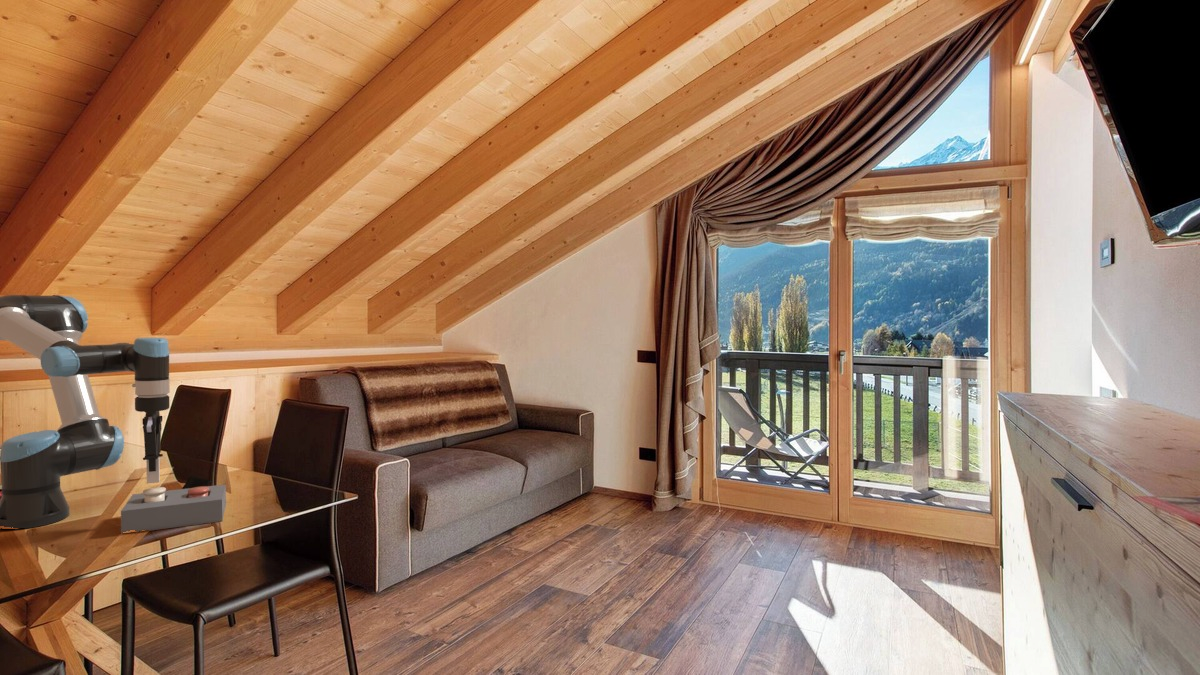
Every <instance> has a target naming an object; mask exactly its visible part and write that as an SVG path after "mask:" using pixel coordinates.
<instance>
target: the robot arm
mask: <svg viewBox="0 0 1200 675" xmlns="http://www.w3.org/2000/svg"><path fill="white" fill-rule="evenodd" d="M88 320H89V316H88V313H87V310H86V308H85V306H84V305H83V304H82V302H81V301H80V300H78V299H77V298H75V297H73V296H65V295H58V294H57V295H56V294H53V295H35V294H34V295H33V294H32V295H30V294H29V295H27V294H21V295H20V294H7V295H2V296H0V341H8V342H10V343H11V344H12V345H15V346H16V347H18V348H19V349H21V350H23V351H25V352H26V353H28V354H30V355H32V357H35V358H37V359H38V360H40V366H41V369H42V370H43V373H44V374H45V375H46V376H48V379H49V382H50V383H49V384H50V386H51V390H52V393H53V396H54V399H55V400H54V401H55V404H56V407H57V411H58V415H59V418H60V422H61V425H60V426H59V427H58V428H57V429H56V430H54V429H52V430H51V429H47V430H46V429H45V430H40V431H32V432H28V433H27V432H26V433H22V434H19V435H16V436H12V437H9V438H8V439H6V440H4V442H3V443H2V444H1V445H0V477H1V479H0V480H1V485H0V486H1V497H0V526H4V527H11V528H12V527H13V528H25V529H30V528H37V527H42V526H46V525H50V524H53V523H56V522H60V521H62V520H64V519H66V518H68V517H69V516H70V505H69V504H68V500H67V499H66V497H65V495H64V493H63V491H62V488H61V477H63V476H64V477H65V476H70V475H74V474H79V473H83V472H84V473H85V472H90V471H94V470H96V471H97V470H100V469H104V468H107V467H111V466H113V465H115V464H116V463H117V462H118V461H119V460H120V459H121V457H122V455H123V451H124V446H125V445H124V444H125V441H124V440H125V438H124V434H123V432H122V430H121V429H120V428H119V427H118V426H116V425H110V423H109V419H108V418H107V417H104V416H102V415H100V412H99V407H98V405H97V402H96V399H95V395H94V391H93V388H92V385H91V381H90V379H89V375H95V374H97V375H98V374H110V373H123V372H133V373H134V383H132V384H131V387H132V388H135V389H134V394H135V398H134V410H135V412H140V413H143V412H144V413H145V415H144V417H143V418H142V431H143V440H144V457H142V461H146V484H156V483H160V481H161V475H160V474H161V472H160V471H161V465H160V464H161V463H160V462H161V461H160V460H161V459H160V457H161V458H162V457H163V456H164V455H163V454H164V453H161V451H162V450H161V448H162V446H161V442H162V441H161V439H162V422H163V415H161V414H160V412H163V411H167V410H168V409H170V396H169V394H170V389H171V388H170V354H171V352H170V350H169V341H168V339H166V338H165V337H139V338H135V340H134V342H133V343H129V342H123V343H122V342H117V343H116V342H115V343H112V344H110V343H109V344H92V345H91V344H89V345H87V344H86V345H80V343H79V341H80V340H81V338H83V336H84V332H85V331H86V330H87V328H88V325H89V323H88Z"/></svg>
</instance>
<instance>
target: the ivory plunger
mask: <svg viewBox="0 0 1200 675" xmlns="http://www.w3.org/2000/svg"><path fill="white" fill-rule="evenodd" d="M166 491H167V488H166V487H164V486H156V487H151V488H146V489H143V491H142V493H143V495H144V498H145V503H149V502H158V501H165V492H166Z"/></svg>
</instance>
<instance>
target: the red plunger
mask: <svg viewBox="0 0 1200 675" xmlns="http://www.w3.org/2000/svg"><path fill="white" fill-rule="evenodd" d="M208 491H209V487H205V486H203V487H194V488H191V489H188V494H189V498H194V497H203V496H208Z"/></svg>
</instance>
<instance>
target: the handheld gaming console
mask: <svg viewBox="0 0 1200 675" xmlns="http://www.w3.org/2000/svg"><path fill="white" fill-rule="evenodd" d="M211 482H212V481H211V480H210V479H205V478H203V477H198V476H193V475H191V476H190V477H189V478H188V479H187V481H185V484H184V485H183V486H182V488H181V489H188V488H194V487H203V486H205V487H206V486H210V484H211Z"/></svg>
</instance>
